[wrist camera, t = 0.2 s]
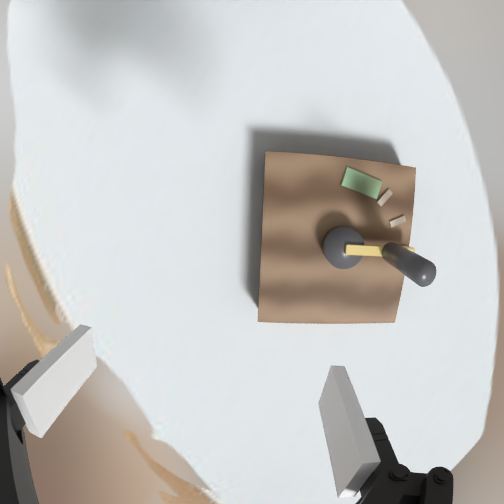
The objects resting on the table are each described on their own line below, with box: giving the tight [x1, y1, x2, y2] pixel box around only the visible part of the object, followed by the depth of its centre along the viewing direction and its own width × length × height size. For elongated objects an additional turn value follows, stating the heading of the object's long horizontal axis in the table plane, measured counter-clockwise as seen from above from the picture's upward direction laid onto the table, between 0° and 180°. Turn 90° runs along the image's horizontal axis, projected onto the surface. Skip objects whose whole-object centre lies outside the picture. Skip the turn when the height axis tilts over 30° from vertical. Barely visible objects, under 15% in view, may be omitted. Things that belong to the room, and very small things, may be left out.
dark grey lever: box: [322, 226, 436, 287], centre depth 31 cm, size 5×12×11 cm, turn 88°
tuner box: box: [258, 151, 416, 324], centre depth 38 cm, size 22×20×4 cm
